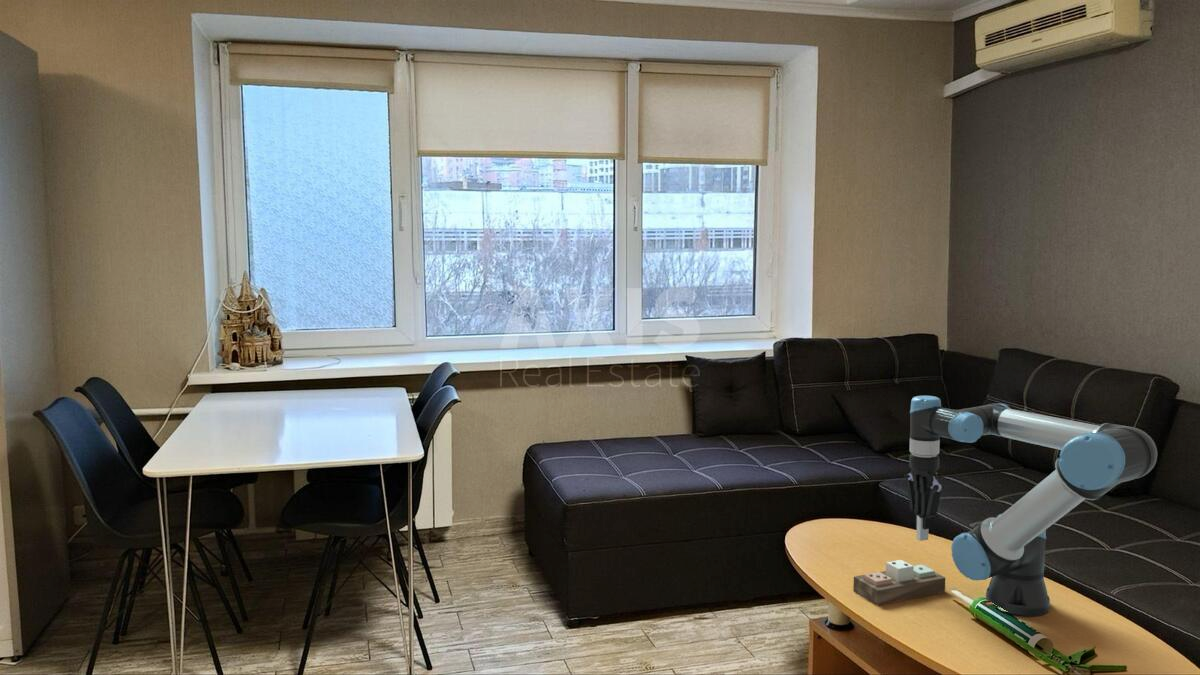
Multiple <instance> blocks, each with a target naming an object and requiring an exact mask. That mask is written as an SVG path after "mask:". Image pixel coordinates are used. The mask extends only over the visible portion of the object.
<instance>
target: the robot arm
mask: <svg viewBox="0 0 1200 675" xmlns="http://www.w3.org/2000/svg"><path fill="white" fill-rule="evenodd" d="M910 402H911V403H910V410H909V418H910V420H909V421H910V422H909V423H910V426H909V427H910V428H909V429H910V431H909V432H910V433H909V448H908V449H909V452H910V454H909V462H908V463H909V464H908V466H909V468H910V469H911V471H910V472H909V473H906V474H904V475H903V476H904V480H905V483H906V487H907V489H906V490H907V494H908V501H909V509H910V511H911V512H912V511H913V512H914V514H915V526H916V540H918V541H919V542H922V541H927V540H929V530H930V526H931V518H932V517H936V516H937V513H938V509H939V505H940V500H941V494H942V492H943V490H944V489H945V488H944V487H945V485H944V484H943V483H941V484H940V483H939V481H938V475H937V471H938V470H939V468H940V456H939V454H940V444H941V443H940V442H941V440H940V439H941V438H946V439H950V440H953V441H956V442H960V443H970V444H972V443H976V442H977V441H978V439H979V440H980V438H981V437H982V436H986V435H987V436H988V435H993V436H996V437H1002V438H1007V439H1011V440H1015V441H1019V442H1025V443H1027V444H1028V443H1029V444H1033V445H1039V446H1042V447H1047V448H1050V449H1051V448H1052V449H1056V450H1059V451H1060V453H1059V457H1058V458H1056V460H1055V464H1054V466H1055V467H1054V468H1055V470H1053V471H1052V472H1051V473H1050V474H1049V475H1048V476H1046V477H1045V478H1044V479H1043V480H1041V481H1040V482H1039V483H1038V484H1036V485H1035V486H1033V488H1032V489H1031V490H1030V491H1028V492H1026V494H1025V495H1023V496H1022V497H1021V498H1020V499H1018V500H1017V501H1016V502H1014V504H1012V505H1011V506H1010V507H1009V508H1008V509H1006V510H1005V511H1004V512H1003V513H1000V514H998V515H997V516H996V517H994V516H993V517H992V516H991V517H988V518H986V519H984V520H982V521H981V522H980V523H979V524H978V525H976V526H975V527H974V528H973V529H971V530H970V531H968V532H961V533H960V534H958V535H957V536H955V537H954V538H953V540H952V542H951V547H950V550H951V557H952V561H953V562H954V565H955V567H956V569H957V570H958V571H959V572H960V573H961V574H962V575H963V576H964V577H965V578H967V579H970V580H972V581H986V580H988V579H989V578H991V579H990V582H989V584H988V587H987V588H986V591H985V600H986V599H987V600H989V601H990V602H992V603H994V604H995V605H997V606H999V607H1001V608H1003V609H1004V610H1006V611H1008V612H1009V613H1008V614H1010V613H1011V615H1014V616H1015V615H1016V616H1023V617H1024V616H1025V617H1036V616H1042V615H1045V614H1047V613H1049V612H1050V609H1051V599H1050V596H1049V595H1048V590H1047V586H1046V582H1045V579H1044V576H1045V575H1044V574H1045V559H1046V542H1047V536H1046V532H1047V531H1046V530H1048V529H1049V528H1050V527H1051V526H1052V525H1054V523H1056V522H1058V521H1060V519H1062V518H1063V517H1064V516H1065V515H1067V514H1068V513H1070V512H1071V511H1072V510H1073V509H1075V508H1076V507H1077V506H1078V505H1080V504H1081V503H1083V501H1085V500H1089V501H1095V500H1099V499H1100V498H1101V497H1102V496H1104V495H1105V494H1106V493H1108V492H1109V491H1111V490H1112V489H1113V488H1115V487H1116V486H1117V485H1120V484H1122V483H1125V482H1130V481H1132V480H1136V479H1140V478H1142V477H1144V476H1146V475H1148V474H1149V473H1150V472H1151V471H1152V470H1153V469H1154V467H1155V465H1156V464H1157V460H1158V449H1157V445H1156V443H1155V442H1154V440H1153V439H1152V437H1151V436H1150V435H1148V433H1147V432H1145V431H1144V430H1142V429H1139V428H1138V427H1137V428H1136V427H1133V426H1127V425H1121V424H1114V423H1111V422H1105V423H1104V422H1103V423H1102V424H1100V425H1097V424H1092V423H1091V424H1090V423H1087V422H1082V421H1077V420H1076V421H1075V420H1073V419H1072V420H1071V419H1067V418H1061V417H1054V416H1050V415H1044V414H1039V413H1033V412H1028V411H1023V410H1017V409H1012V408H1011V407H1010V406H1008V405H1007V404H1004V403H990V404H985V405H984V404H983V405H980V406H974V407H967V408H962V409H953V408H952V409H951V408H946V407H943V406H942V401H941V398H939V397H937V396H933V395H917V396H913V397H912V399H911V400H910Z"/></svg>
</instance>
